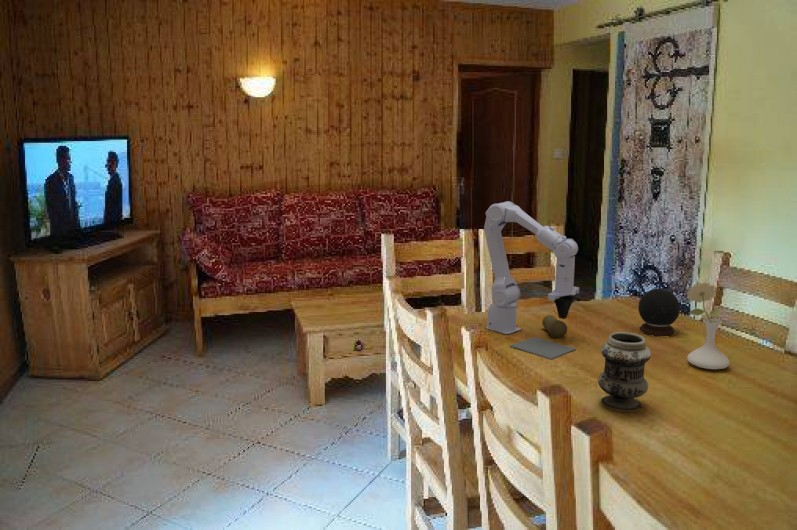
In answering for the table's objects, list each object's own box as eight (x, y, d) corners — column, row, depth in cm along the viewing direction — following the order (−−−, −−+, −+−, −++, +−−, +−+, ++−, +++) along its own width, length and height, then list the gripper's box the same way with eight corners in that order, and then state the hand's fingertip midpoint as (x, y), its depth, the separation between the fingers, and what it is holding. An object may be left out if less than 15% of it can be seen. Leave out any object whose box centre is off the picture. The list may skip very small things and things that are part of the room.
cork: (568, 336, 217) (557, 328, 228) (566, 319, 216) (555, 311, 227) (550, 340, 217) (541, 331, 228) (548, 322, 216) (538, 314, 227)
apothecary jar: (640, 418, 158) (646, 347, 154) (590, 407, 164) (595, 339, 160) (651, 401, 168) (656, 334, 164) (603, 391, 174) (608, 326, 170)
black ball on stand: (681, 329, 226) (684, 287, 223) (673, 340, 215) (677, 296, 212) (641, 323, 233) (644, 282, 230) (632, 333, 222) (635, 290, 219)
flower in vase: (728, 362, 195) (737, 280, 190) (729, 375, 185) (739, 289, 180) (681, 356, 200) (688, 276, 195) (679, 368, 190) (687, 285, 185)
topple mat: (509, 346, 209) (509, 345, 209) (534, 337, 218) (534, 336, 218) (551, 359, 198) (551, 358, 197) (575, 349, 206) (575, 348, 206)
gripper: (562, 283, 202) (559, 325, 205) (588, 275, 212) (585, 316, 214) (543, 279, 207) (541, 320, 210) (569, 272, 217) (567, 311, 220)
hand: (562, 318), depth 213 cm, fingers closed
